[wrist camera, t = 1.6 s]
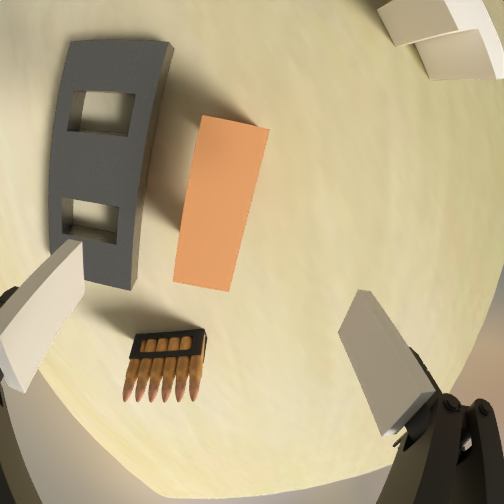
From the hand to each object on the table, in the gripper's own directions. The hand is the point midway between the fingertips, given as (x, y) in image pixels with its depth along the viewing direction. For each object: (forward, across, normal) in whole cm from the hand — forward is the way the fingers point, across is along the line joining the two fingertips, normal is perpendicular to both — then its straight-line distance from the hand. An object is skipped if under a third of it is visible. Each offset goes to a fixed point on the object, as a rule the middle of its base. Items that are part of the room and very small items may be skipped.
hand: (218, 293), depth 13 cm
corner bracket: (+21, +20, +26) cm, 39 cm away
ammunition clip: (+21, -4, -23) cm, 31 cm away
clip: (+21, -1, 0) cm, 21 cm away
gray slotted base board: (+21, -15, 0) cm, 25 cm away
